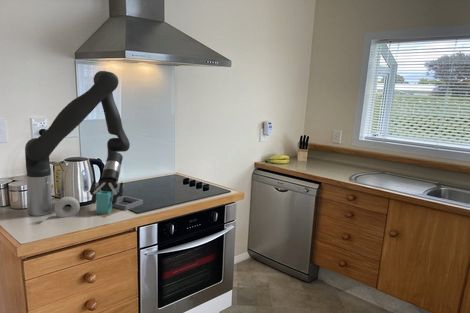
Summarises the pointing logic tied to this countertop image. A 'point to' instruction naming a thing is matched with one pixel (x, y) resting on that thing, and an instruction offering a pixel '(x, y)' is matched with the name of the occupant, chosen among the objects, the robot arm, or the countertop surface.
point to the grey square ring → (125, 207)
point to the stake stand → (104, 214)
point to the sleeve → (104, 202)
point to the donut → (65, 201)
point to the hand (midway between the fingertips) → (103, 203)
